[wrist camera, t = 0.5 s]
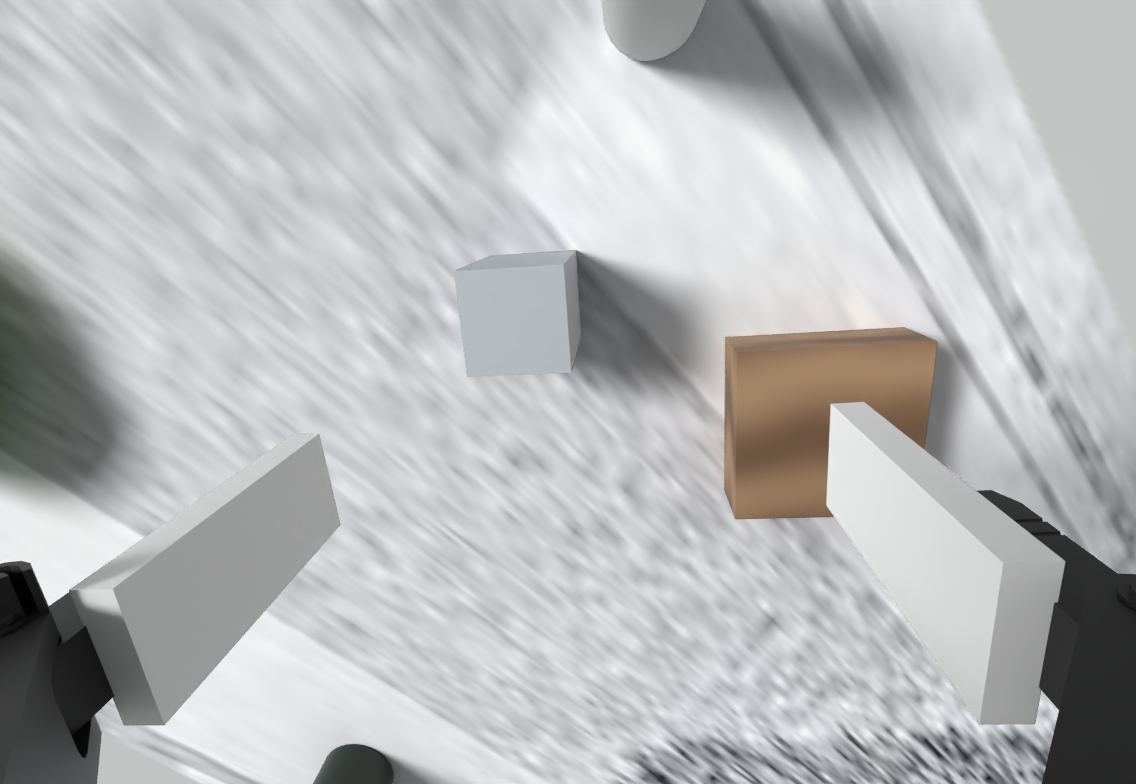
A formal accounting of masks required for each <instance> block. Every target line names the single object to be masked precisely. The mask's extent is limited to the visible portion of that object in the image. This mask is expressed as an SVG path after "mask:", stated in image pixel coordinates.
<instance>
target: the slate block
mask: <svg viewBox="0 0 1136 784" xmlns="http://www.w3.org/2000/svg"><path fill="white" fill-rule="evenodd" d="M454 276H455V284H456V292H457V300H458V308H459V316H460V323H461V331H462V339H463V347H464V355H465V363H466V371H467V377H477V376H501V375H524V374H547V373H570V372H571V371H572V368H573V364H574V360H575V357H576V353H577V350H578V346H579V342H580V339H581V320H580V304H579V288H578V272H577V256H576V250H569V251H554V252H538V253H523V254H507V255H492V256H489V257H486V258H484V259H481V260H479V261H477V262H474V263H472V264H470V265H467V266H465V267H462V268H460V269H458V270H455V271H454Z"/></svg>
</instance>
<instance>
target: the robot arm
mask: <svg viewBox="0 0 1136 784" xmlns="http://www.w3.org/2000/svg"><path fill="white" fill-rule="evenodd" d="M826 506H827V507H828V508H829V510H830V511H831V513H832V514H833V516H834V517H835V518H836V520H837V521H838V523H839V524H840V526H841V527H842V528H843V530H844V531H845V533H846V534H847V536H848V537H849V539H850V540H851V541H852V543H853V544H854V546H855V547H856V549H857V550H858V551H859V553H860V554H861V556H862V557H863V559H864V560H865V561H866V563H867V564H868V566H869V567H870V569H871V570H872V571H873V573H874V574H875V576H876V577H877V579H878V580H879V582H880V583H881V584H882V586H883V587H884V589H885V590H886V592H887V593H888V594H889V596H890V597H891V599H892V600H893V602H894V603H895V604H896V606H897V607H898V609H899V610H900V612H901V613H902V614H903V616H904V617H905V619H906V620H907V622H908V623H909V625H910V626H911V627H912V629H913V630H914V632H915V633H916V635H917V636H918V637H919V639H920V640H921V642H922V643H923V645H924V646H925V647H926V649H927V650H928V652H929V653H930V655H931V656H932V657H933V659H934V660H935V662H936V663H937V665H938V666H939V668H940V669H941V670H942V672H943V673H944V675H945V676H946V678H947V679H948V680H949V682H950V683H951V685H952V686H953V688H954V689H955V690H956V692H957V693H958V695H959V696H960V698H961V699H962V700H963V702H964V703H965V705H966V706H967V708H968V709H969V711H970V712H971V713H972V715H973V716H974V718H975V719H976V721H977V722H978V723H979V724H1035V722H1036V717H1037V711H1038V706H1039V701H1040V695H1041V690H1042V691H1043V692H1044V693H1045V695H1046V696H1047V697H1048V698H1049V699H1050V700H1051V701H1052V703H1053V704H1054V705H1055V706H1056V707H1057V708H1058V709H1059V713H1058V718H1057V722H1056V726H1055V730H1054V735H1053V739H1052V743H1051V747H1050V752H1049V756H1048V760H1047V764H1046V769H1045V773H1044V777H1043V781H1042V784H1136V575H1135V574H1117V573H1116V572H1114V571H1113V570H1112V569H1110V568H1109V567H1108V566H1106V565H1105V564H1103V563H1102V562H1101V561H1099V560H1098V559H1097V558H1095V557H1094V556H1093V555H1091V554H1090V553H1088V552H1087V551H1086V550H1084V549H1083V548H1082V547H1080V546H1079V545H1078V544H1076V543H1075V542H1073V541H1072V540H1071V539H1069V538H1068V537H1067V536H1065V535H1061V534H1060V531H1058V530H1057V529H1056V528H1054V527H1053V526H1052V525H1050V524H1049V523H1048V522H1043V521H1042V518H1041V517H1039V516H1038V515H1037V514H1035V513H1034V512H1033V511H1031V510H1030V509H1029V508H1027V507H1026V506H1024V505H1023V504H1022V503H1020V502H1018V501H1015V500H1013V499H1011V498H1008V497H1006V496H1004V495H1001V494H999V493H997V492H994V491H992V490H984V491H976V490H975V489H973V488H972V487H971V486H970V485H968V484H967V483H966V482H964V481H963V480H962V479H961V478H959V477H958V476H957V475H956V474H954V473H953V472H952V471H951V470H949V469H948V468H947V467H946V466H944V465H943V464H942V463H940V462H939V461H938V460H937V459H935V458H934V457H933V456H932V455H930V454H929V453H928V452H927V451H925V450H924V449H923V448H922V447H920V446H919V445H918V444H916V443H915V442H914V441H913V440H911V439H910V438H909V437H908V436H906V435H905V434H904V433H903V432H901V431H900V430H899V429H898V428H896V427H895V426H894V425H892V424H891V423H890V422H889V421H887V420H886V419H885V418H884V417H882V416H881V415H880V414H879V413H877V412H876V411H875V410H874V409H872V408H871V407H870V406H868V405H867V404H866V403H865V402H852V403H835V404H831V410H830V433H829V455H828V478H827V500H826ZM340 525H341V524H340V520H339V516H338V512H337V507H336V503H335V499H334V495H333V490H332V486H331V482H330V478H329V473H328V469H327V465H326V461H325V456H324V452H323V448H322V444H321V439H320V435H319V434H302V435H292V436H290V437H289V438H287V439H286V440H284V441H283V442H281V443H280V444H279V445H277V446H276V447H274V448H273V449H271V450H270V451H268V452H267V453H266V454H264V455H263V456H261V457H260V458H258V459H257V460H256V461H254V462H253V463H251V464H250V465H248V466H247V467H245V468H244V469H243V470H241V471H240V472H238V473H237V474H235V475H234V476H233V477H231V478H230V479H228V480H227V481H225V482H224V483H222V484H221V485H220V486H218V487H217V488H215V489H214V490H212V491H211V492H210V493H208V494H207V495H205V496H204V497H202V498H201V499H199V500H198V501H197V502H195V503H194V504H192V505H191V506H189V507H188V508H187V509H185V510H184V511H182V512H181V513H179V514H178V515H176V516H175V517H174V518H172V519H171V520H169V521H168V522H166V523H165V524H163V525H162V526H161V527H159V528H158V529H156V530H155V531H153V532H152V533H151V534H149V535H148V536H146V537H145V538H143V539H142V540H140V541H139V542H138V543H136V544H135V545H133V546H132V547H130V548H129V549H128V550H126V551H125V552H123V553H122V554H120V555H119V556H117V557H116V558H115V559H113V560H112V561H110V562H109V563H107V564H106V565H105V566H103V567H102V568H100V569H99V570H97V571H96V572H94V573H93V574H92V575H90V576H89V577H87V578H86V579H84V580H83V581H82V582H80V583H79V584H77V585H76V586H74V587H73V588H71V589H70V590H69V593H67V594H66V595H64V596H63V597H62V598H60V599H59V600H57V601H56V602H54V603H53V604H52V605H50V606H48V604H47V602H46V599H45V597H44V595H43V592H42V590H41V587H40V585H39V583H38V580H37V578H36V576H35V573H34V571H33V569H32V566H31V564H30V563H27V562H23V561H17V562H7V563H2V564H0V784H97V775H98V765H99V755H100V754H99V753H100V744H101V734H102V733H101V730H100V727H99V724H98V722H97V720H96V717H95V714H96V713H97V712H98V711H99V710H100V709H101V708H102V707H103V706H104V705H105V704H106V703H107V702H108V701H109V700H110V699H111V698H112V697H113V700H114V702H115V705H116V707H117V709H118V712H119V714H120V717H121V719H122V722H123V724H124V725H165V724H166V723H167V722H168V721H169V719H170V718H171V717H172V716H173V715H174V714H175V713H176V712H177V710H178V709H179V708H180V707H181V706H182V705H183V704H184V702H185V701H186V700H187V699H188V698H189V697H190V696H191V694H192V693H193V692H194V691H195V690H196V689H197V688H198V686H199V685H200V684H201V683H202V682H203V681H204V680H205V679H206V677H207V676H208V675H209V674H210V673H211V672H212V671H213V669H214V668H215V667H216V666H217V665H218V664H219V663H220V661H221V660H222V659H223V658H224V657H225V656H226V655H227V653H228V652H229V651H230V650H231V649H232V648H233V647H234V645H235V644H236V643H237V642H238V641H239V640H240V639H241V638H242V636H243V635H244V634H245V633H246V632H247V631H248V630H249V628H250V627H251V626H252V625H253V624H254V623H255V622H256V620H257V619H258V618H259V617H260V616H261V615H262V614H263V612H264V611H265V610H266V609H267V608H268V607H269V606H270V605H271V603H272V602H273V601H274V600H275V599H276V598H277V597H278V595H279V594H280V593H281V592H282V591H283V590H284V589H285V587H286V586H287V585H288V584H289V583H290V582H291V581H292V579H293V578H294V577H295V576H296V575H297V574H298V573H299V571H300V570H301V569H302V568H303V567H304V566H305V565H306V564H307V562H308V561H309V560H310V559H311V558H312V557H313V556H314V554H315V553H316V552H317V551H318V550H319V549H320V548H321V546H322V545H323V544H324V543H325V542H326V541H327V540H328V538H329V537H330V536H331V535H332V534H333V533H334V532H335V531H336V529H337V528H338V527H339V526H340Z"/></svg>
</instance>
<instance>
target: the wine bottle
mask: <svg viewBox="0 0 1136 784" xmlns="http://www.w3.org/2000/svg"><path fill="white" fill-rule="evenodd" d="M392 783H393V771H392V768H391V766H390V764H389V763H388V761H387V760H386V759H385V758H384V757H383V756H382V755H381V754H380V753H378V752H377V751H375V750H373V749H371V748H368V747H365V746H361V745H344V746H341V747H338V748H336V749H334V750H333V751H332V752H331V753H330V754H329V755H328V756H327V758H326V760H325V762H324V764H323V766H322V768H321V770H320V771H319V773H318V775H317V777H316V779H315V781H314V783H313V784H392Z"/></svg>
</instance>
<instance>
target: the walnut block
mask: <svg viewBox="0 0 1136 784" xmlns="http://www.w3.org/2000/svg"><path fill="white" fill-rule="evenodd" d="M936 349H937V341H935V340H932V339H930V338H928V337H926V336H923V335H921V334H919V333H916V332H914V331H912V330H909V329H907V328H905V327H900V328H882V329H864V330H846V331H828V332H810V333H792V334H774V335H756V336H737V337H725V454H724V490H725V493H726V496H727V498H728V501H729V504H730V506H731V509H732V512H733V515H734V517H735V519H766V518H806V517H834V516H833V514H832V513H831V511H830V510H829V508H828V507H827V506H826V500H827V478H828V455H829V433H830V410H831V404H835V403H852V402H865V403H866V404H867V405H868V406H870V407H871V408H872V409H874V410H875V411H876V412H877V413H879V414H880V415H881V416H882V417H884V418H885V419H886V420H887V421H889V422H890V423H891V424H892V425H894V426H895V427H896V428H898V429H899V430H900V431H901V432H903V433H904V434H905V435H906V436H908V437H909V438H910V439H911V440H913V441H914V442H915V443H916V444H918V445H919V446H920V447H922V448H923V449H925V441H926V433H927V424H928V416H929V408H930V399H931V391H932V383H933V374H934V366H935V358H936Z"/></svg>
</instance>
